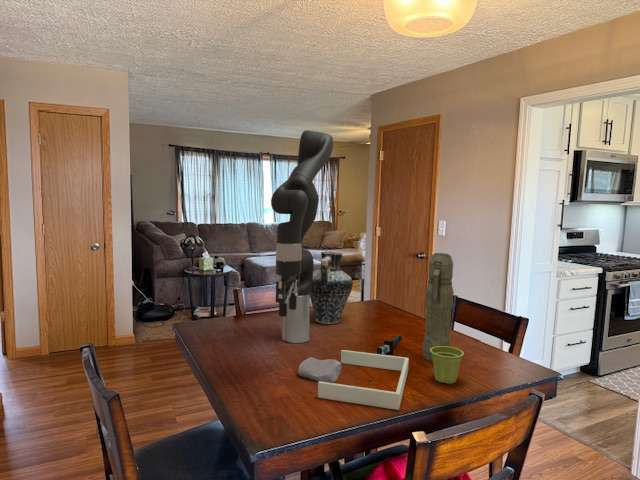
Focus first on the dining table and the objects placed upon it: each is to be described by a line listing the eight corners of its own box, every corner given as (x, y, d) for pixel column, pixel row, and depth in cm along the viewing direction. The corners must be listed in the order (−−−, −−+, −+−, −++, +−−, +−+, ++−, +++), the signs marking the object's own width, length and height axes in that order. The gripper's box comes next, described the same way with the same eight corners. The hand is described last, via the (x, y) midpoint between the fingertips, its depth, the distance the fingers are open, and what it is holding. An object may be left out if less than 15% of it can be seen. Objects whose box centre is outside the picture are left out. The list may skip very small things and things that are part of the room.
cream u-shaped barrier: (317, 397, 115) (318, 382, 115) (341, 361, 141) (341, 349, 141) (398, 409, 109) (399, 394, 109) (408, 370, 135) (408, 357, 135)
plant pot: (442, 388, 123) (444, 358, 122) (422, 376, 131) (423, 347, 130) (469, 384, 126) (470, 354, 126) (447, 372, 135) (448, 344, 134)
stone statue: (419, 361, 143) (424, 254, 140) (425, 350, 154) (430, 251, 151) (447, 366, 140) (453, 256, 137) (451, 354, 151) (457, 253, 148)
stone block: (333, 390, 124) (343, 371, 133) (332, 375, 123) (342, 357, 132) (294, 385, 128) (306, 366, 137) (293, 370, 127) (305, 353, 136)
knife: (380, 361, 138) (381, 347, 138) (371, 359, 140) (372, 345, 140) (408, 345, 165) (409, 333, 165) (400, 343, 167) (401, 331, 167)
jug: (309, 314, 198) (311, 248, 196) (352, 317, 196) (355, 250, 193) (301, 327, 178) (303, 253, 175) (349, 330, 175) (351, 255, 173)
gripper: (285, 255, 137) (284, 306, 138) (267, 260, 123) (266, 317, 124) (308, 256, 135) (307, 308, 136) (292, 262, 121) (291, 319, 122)
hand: (287, 312), depth 130 cm, fingers open, 8 cm apart
